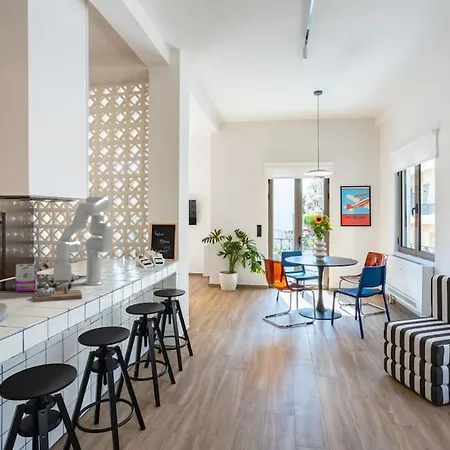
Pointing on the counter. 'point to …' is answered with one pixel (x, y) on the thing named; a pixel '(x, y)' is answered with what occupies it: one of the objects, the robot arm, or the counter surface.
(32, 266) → the candy bar box
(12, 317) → the counter surface
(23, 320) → the counter surface
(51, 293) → the gear board
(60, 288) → the wooden gear
